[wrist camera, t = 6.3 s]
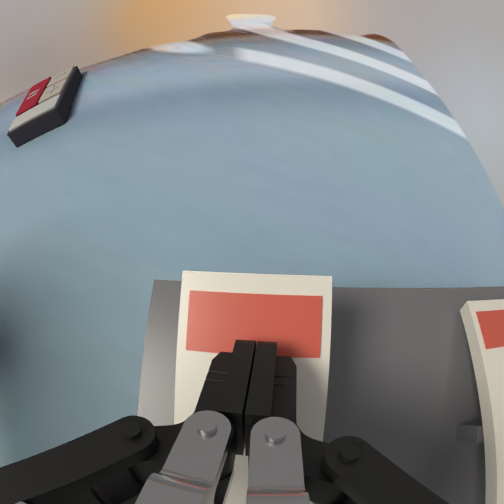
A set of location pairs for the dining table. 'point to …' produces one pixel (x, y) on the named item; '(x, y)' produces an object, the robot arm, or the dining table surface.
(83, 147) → the dining table surface
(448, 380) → the rocker switch panel
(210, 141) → the dining table surface
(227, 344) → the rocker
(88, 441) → the robot arm
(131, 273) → the dining table surface
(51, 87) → the calculator
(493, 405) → the rocker
